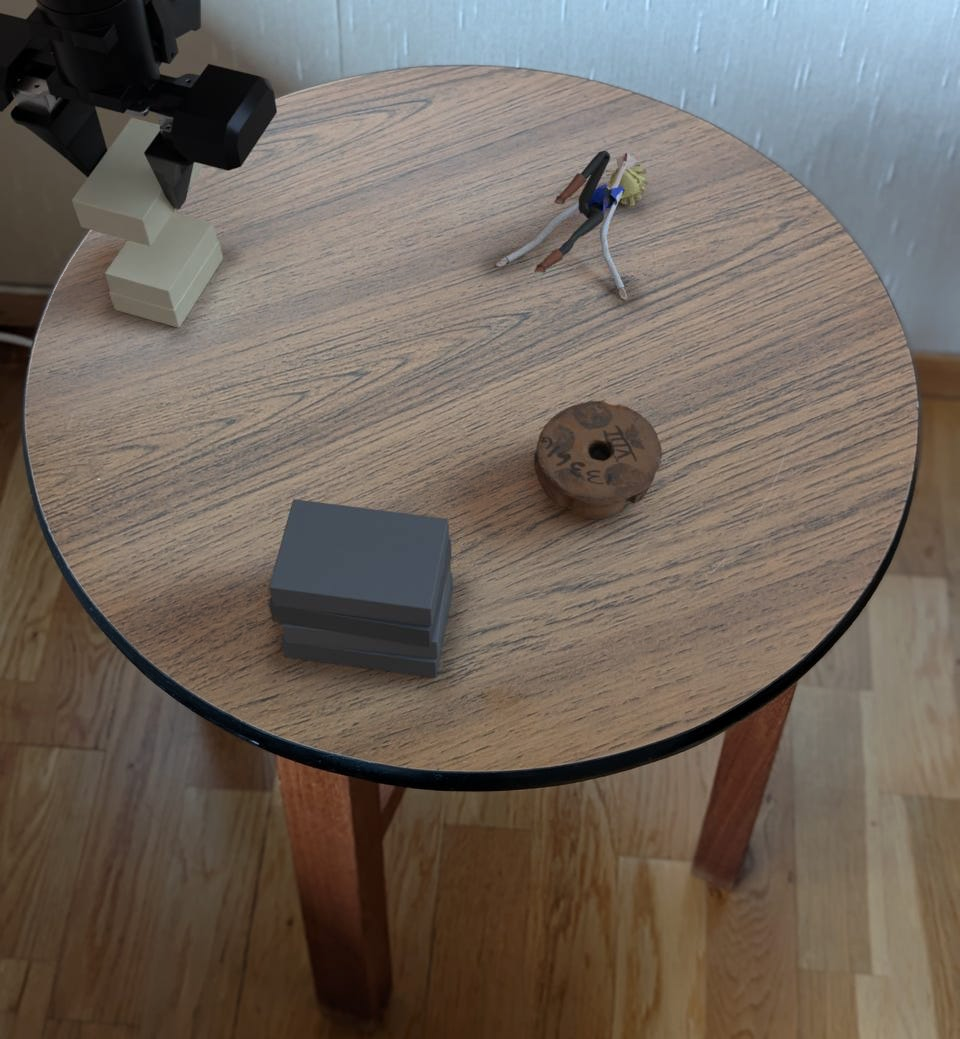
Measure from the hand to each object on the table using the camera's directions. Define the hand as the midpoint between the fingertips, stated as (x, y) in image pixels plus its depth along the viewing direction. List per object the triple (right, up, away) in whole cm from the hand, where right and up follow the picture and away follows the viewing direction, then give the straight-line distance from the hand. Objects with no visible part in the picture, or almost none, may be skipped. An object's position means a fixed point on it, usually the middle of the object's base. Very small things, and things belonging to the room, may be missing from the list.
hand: (143, 194), depth 87 cm
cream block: (0, 0, 0) cm, 0 cm away
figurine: (+30, -2, +9) cm, 31 cm away
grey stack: (+15, -27, -8) cm, 32 cm away
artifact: (+29, -20, -2) cm, 35 cm away
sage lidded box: (0, -5, +7) cm, 8 cm away
